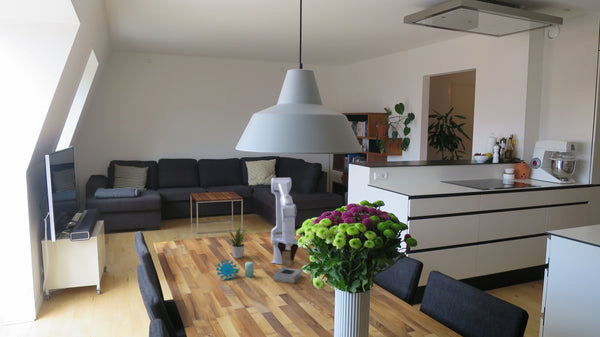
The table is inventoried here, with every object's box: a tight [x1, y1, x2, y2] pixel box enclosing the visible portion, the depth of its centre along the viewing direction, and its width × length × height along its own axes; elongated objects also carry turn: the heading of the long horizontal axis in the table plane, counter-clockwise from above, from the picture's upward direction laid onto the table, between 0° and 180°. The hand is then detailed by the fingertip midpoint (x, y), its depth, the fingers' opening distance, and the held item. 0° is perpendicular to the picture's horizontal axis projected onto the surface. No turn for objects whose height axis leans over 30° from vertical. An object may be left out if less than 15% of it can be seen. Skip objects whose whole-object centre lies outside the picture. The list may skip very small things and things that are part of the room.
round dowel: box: [244, 261, 255, 278], centre depth 206 cm, size 4×4×6 cm
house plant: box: [227, 226, 251, 259], centre depth 232 cm, size 14×14×16 cm
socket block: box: [273, 266, 303, 284], centre depth 204 cm, size 10×10×3 cm
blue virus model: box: [215, 259, 241, 281], centre depth 205 cm, size 11×6×10 cm
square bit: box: [281, 249, 294, 268], centre depth 202 cm, size 4×4×6 cm
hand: (288, 259), depth 203 cm, fingers closed on square bit, 4 cm apart
